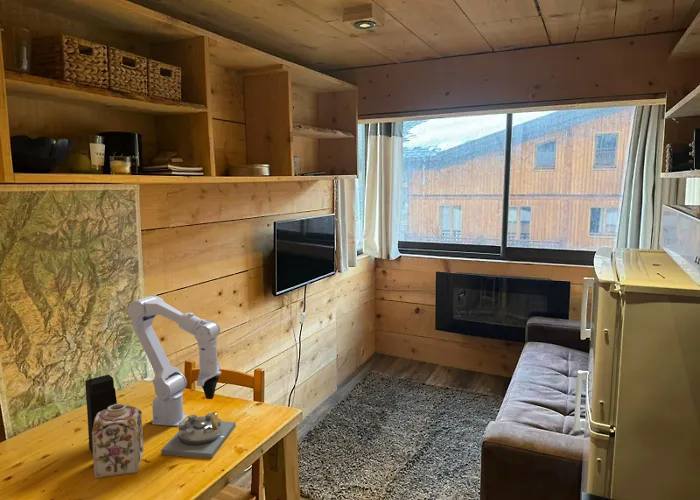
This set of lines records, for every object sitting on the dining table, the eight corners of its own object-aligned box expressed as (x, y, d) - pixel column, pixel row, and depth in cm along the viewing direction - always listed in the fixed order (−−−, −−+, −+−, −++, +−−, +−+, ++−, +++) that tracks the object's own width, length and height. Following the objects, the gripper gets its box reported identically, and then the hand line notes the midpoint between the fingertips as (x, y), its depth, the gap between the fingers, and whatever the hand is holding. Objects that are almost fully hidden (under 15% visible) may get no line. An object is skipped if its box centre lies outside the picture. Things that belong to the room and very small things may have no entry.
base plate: (161, 454, 152) (161, 449, 152) (190, 423, 172) (190, 418, 172) (212, 458, 150) (211, 453, 150) (235, 426, 170) (235, 421, 170)
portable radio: (114, 440, 161) (110, 364, 157) (121, 447, 156) (117, 370, 153) (88, 449, 155) (82, 371, 152) (94, 456, 151) (89, 377, 148)
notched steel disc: (170, 441, 157) (169, 416, 156) (195, 422, 169) (194, 399, 168) (206, 448, 153) (205, 423, 152) (229, 428, 165) (228, 405, 164)
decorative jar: (93, 479, 140) (89, 418, 137) (102, 457, 151) (98, 400, 148) (139, 473, 143) (136, 413, 140) (144, 452, 154) (141, 395, 151)
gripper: (211, 367, 158) (212, 408, 160) (228, 352, 172) (229, 389, 174) (189, 366, 159) (191, 407, 161) (208, 351, 173) (209, 388, 175)
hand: (209, 398), depth 168 cm, fingers closed
